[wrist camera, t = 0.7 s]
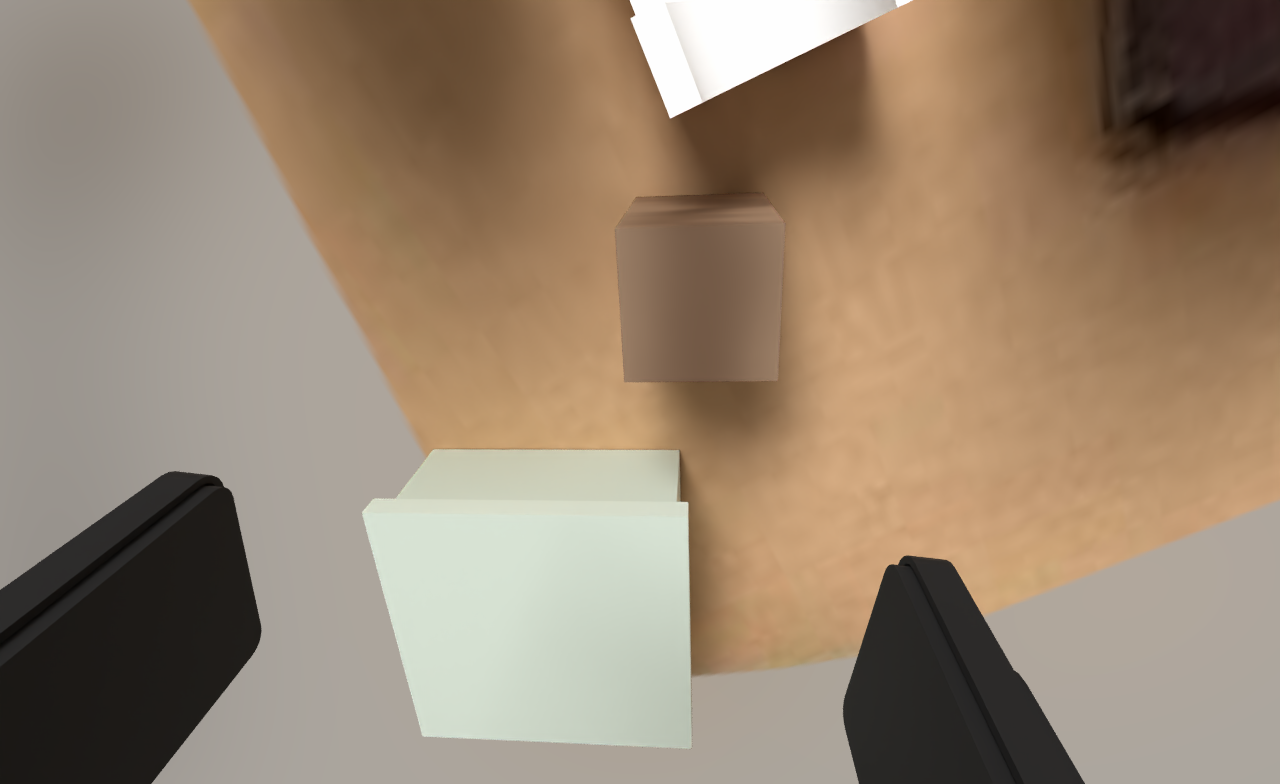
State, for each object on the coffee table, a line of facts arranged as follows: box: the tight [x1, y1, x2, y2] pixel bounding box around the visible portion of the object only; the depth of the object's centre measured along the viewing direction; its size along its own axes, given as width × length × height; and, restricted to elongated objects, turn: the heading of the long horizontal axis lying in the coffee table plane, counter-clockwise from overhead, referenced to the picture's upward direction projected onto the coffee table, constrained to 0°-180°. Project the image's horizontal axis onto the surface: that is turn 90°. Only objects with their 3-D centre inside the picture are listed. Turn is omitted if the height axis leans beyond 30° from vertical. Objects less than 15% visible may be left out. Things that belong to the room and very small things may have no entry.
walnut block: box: [615, 193, 785, 382], centre depth 23 cm, size 5×5×7 cm
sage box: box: [362, 449, 692, 749], centre depth 30 cm, size 13×13×6 cm
